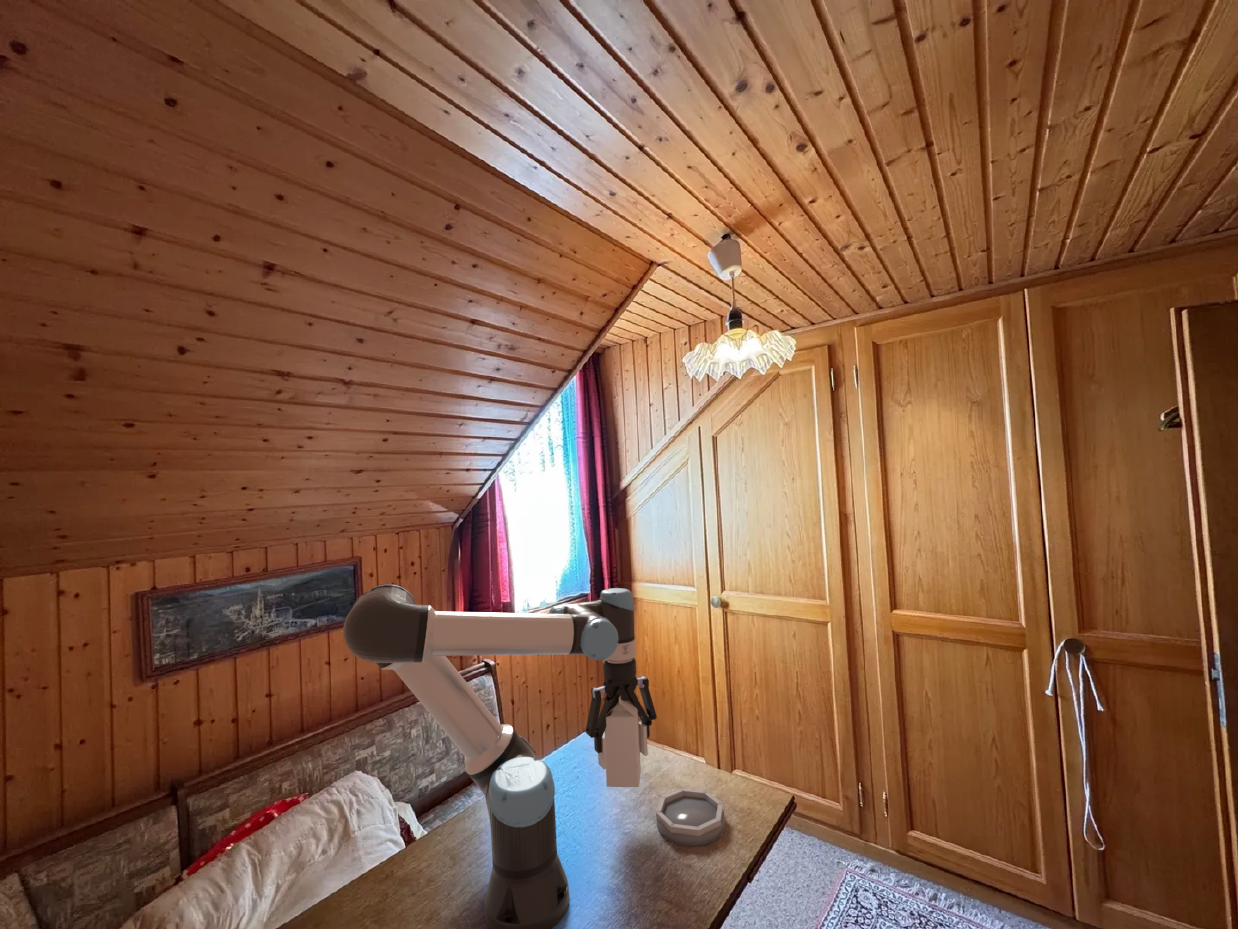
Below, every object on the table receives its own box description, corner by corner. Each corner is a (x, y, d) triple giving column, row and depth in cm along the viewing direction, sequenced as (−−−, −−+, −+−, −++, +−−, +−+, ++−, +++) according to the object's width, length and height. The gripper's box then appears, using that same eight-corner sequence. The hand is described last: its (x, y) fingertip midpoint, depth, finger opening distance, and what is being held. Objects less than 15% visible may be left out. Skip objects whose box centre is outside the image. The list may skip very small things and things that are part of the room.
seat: (682, 856, 103) (681, 840, 103) (643, 817, 116) (643, 802, 116) (739, 828, 110) (738, 813, 110) (697, 794, 123) (696, 780, 123)
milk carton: (640, 770, 118) (637, 686, 119) (639, 788, 111) (635, 698, 112) (610, 770, 119) (607, 686, 120) (606, 788, 112) (603, 698, 113)
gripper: (581, 673, 108) (585, 782, 106) (669, 653, 118) (674, 753, 117) (567, 663, 114) (571, 766, 113) (652, 645, 125) (656, 739, 124)
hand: (623, 759), depth 115 cm, fingers closed on milk carton, 10 cm apart
